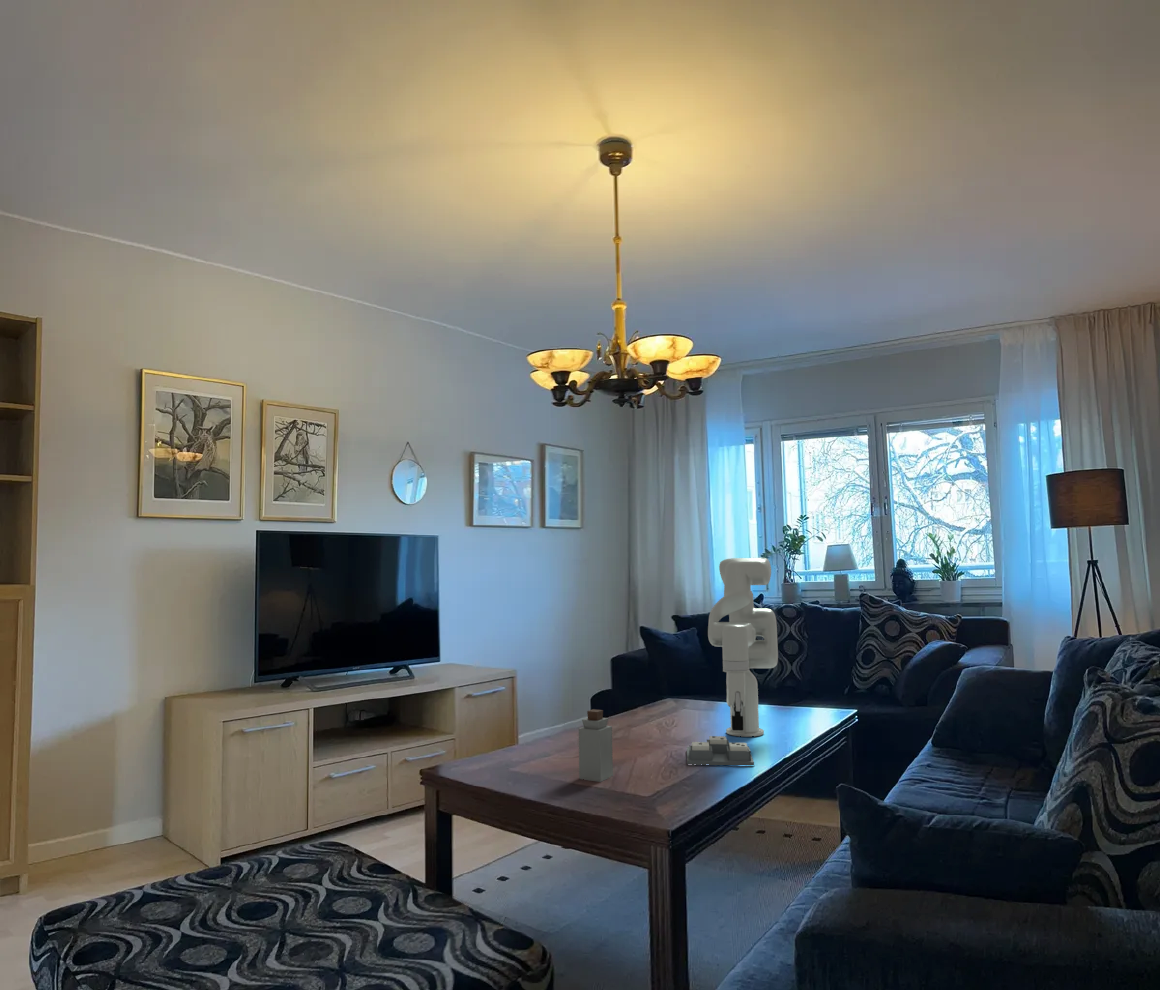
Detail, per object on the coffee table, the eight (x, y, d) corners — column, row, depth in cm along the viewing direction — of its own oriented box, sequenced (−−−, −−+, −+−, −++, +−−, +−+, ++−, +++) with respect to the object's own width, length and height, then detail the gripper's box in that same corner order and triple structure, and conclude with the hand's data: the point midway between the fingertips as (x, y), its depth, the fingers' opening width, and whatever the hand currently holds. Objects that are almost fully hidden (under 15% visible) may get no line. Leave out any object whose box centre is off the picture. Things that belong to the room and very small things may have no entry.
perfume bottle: (591, 773, 222) (590, 707, 223) (612, 776, 218) (611, 709, 220) (579, 778, 216) (578, 711, 217) (600, 782, 212) (599, 713, 214)
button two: (709, 742, 244) (709, 735, 244) (725, 743, 243) (725, 735, 243) (710, 746, 239) (709, 739, 239) (726, 746, 238) (726, 739, 239)
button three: (729, 749, 235) (729, 742, 235) (746, 749, 234) (746, 742, 234) (730, 753, 230) (730, 745, 230) (747, 753, 229) (747, 746, 229)
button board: (686, 750, 246) (686, 738, 247) (748, 751, 244) (748, 739, 244) (687, 765, 229) (687, 751, 229) (754, 766, 226) (753, 752, 227)
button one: (691, 748, 236) (691, 741, 236) (708, 749, 236) (708, 741, 236) (692, 752, 231) (692, 745, 231) (709, 753, 231) (709, 745, 231)
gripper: (721, 663, 242) (723, 725, 240) (724, 669, 227) (726, 734, 225) (746, 663, 241) (748, 725, 239) (750, 669, 226) (752, 735, 224)
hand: (737, 729), depth 232 cm, fingers closed
